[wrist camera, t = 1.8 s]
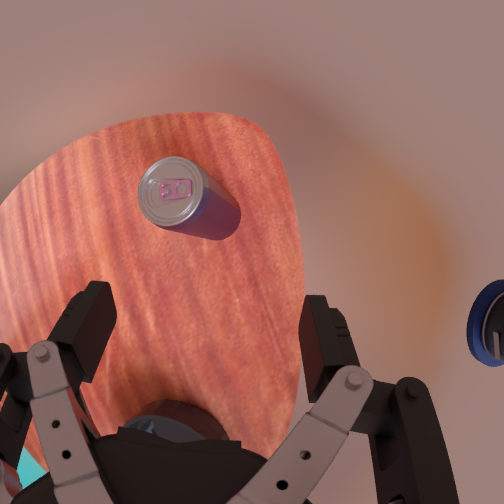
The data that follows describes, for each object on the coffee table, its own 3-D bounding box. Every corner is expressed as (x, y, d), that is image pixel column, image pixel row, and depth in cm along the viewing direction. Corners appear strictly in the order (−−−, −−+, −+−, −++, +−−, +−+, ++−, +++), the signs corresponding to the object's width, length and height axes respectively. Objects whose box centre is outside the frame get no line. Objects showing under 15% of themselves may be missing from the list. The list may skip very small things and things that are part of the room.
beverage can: (243, 238, 37) (206, 224, 22) (196, 242, 38) (135, 232, 23) (240, 190, 37) (203, 147, 22) (194, 195, 38) (135, 160, 23)
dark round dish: (253, 440, 36) (246, 463, 31) (200, 491, 37) (190, 512, 32) (162, 378, 38) (144, 393, 33) (123, 437, 39) (106, 453, 34)
